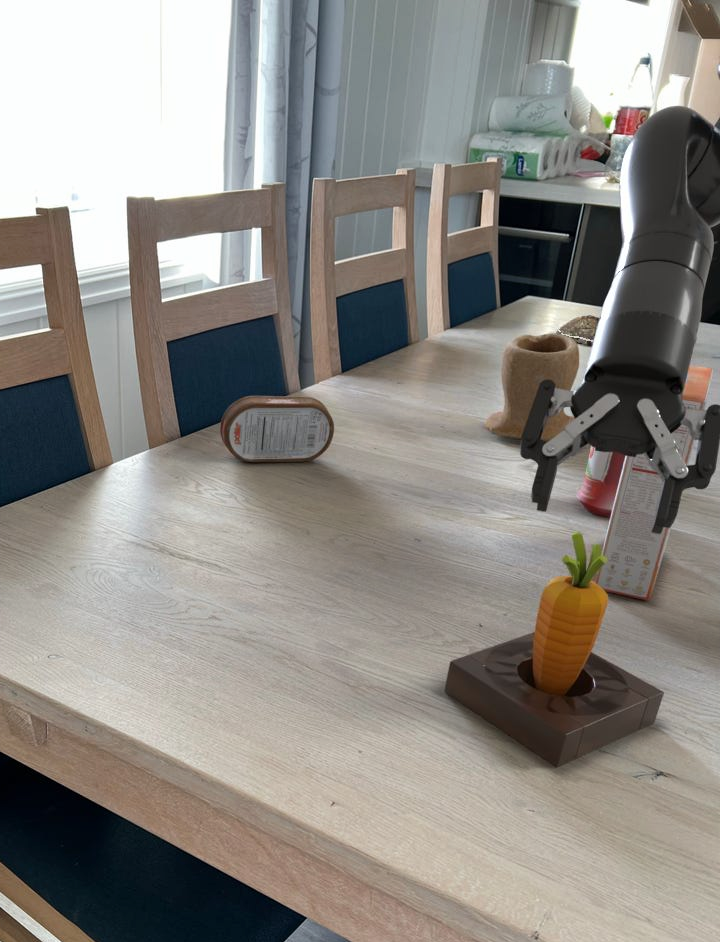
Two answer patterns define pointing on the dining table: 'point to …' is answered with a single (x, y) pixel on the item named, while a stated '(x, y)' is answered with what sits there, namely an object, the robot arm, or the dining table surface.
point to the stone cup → (534, 381)
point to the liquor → (601, 481)
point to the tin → (277, 429)
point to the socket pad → (552, 701)
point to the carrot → (568, 621)
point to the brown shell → (581, 329)
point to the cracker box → (644, 509)
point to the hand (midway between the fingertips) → (598, 518)
